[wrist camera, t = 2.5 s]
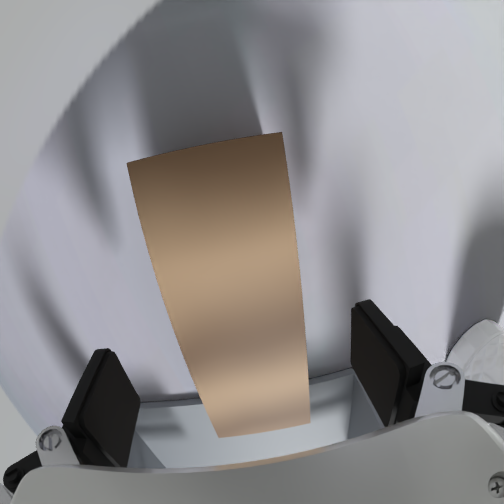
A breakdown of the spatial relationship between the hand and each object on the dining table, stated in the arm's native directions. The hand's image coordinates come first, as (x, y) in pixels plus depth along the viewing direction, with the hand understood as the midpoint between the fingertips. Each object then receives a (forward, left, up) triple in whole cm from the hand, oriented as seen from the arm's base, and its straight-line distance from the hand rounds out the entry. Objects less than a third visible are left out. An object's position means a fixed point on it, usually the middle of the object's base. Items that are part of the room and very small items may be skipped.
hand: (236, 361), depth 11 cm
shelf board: (0, -1, -6) cm, 6 cm away
